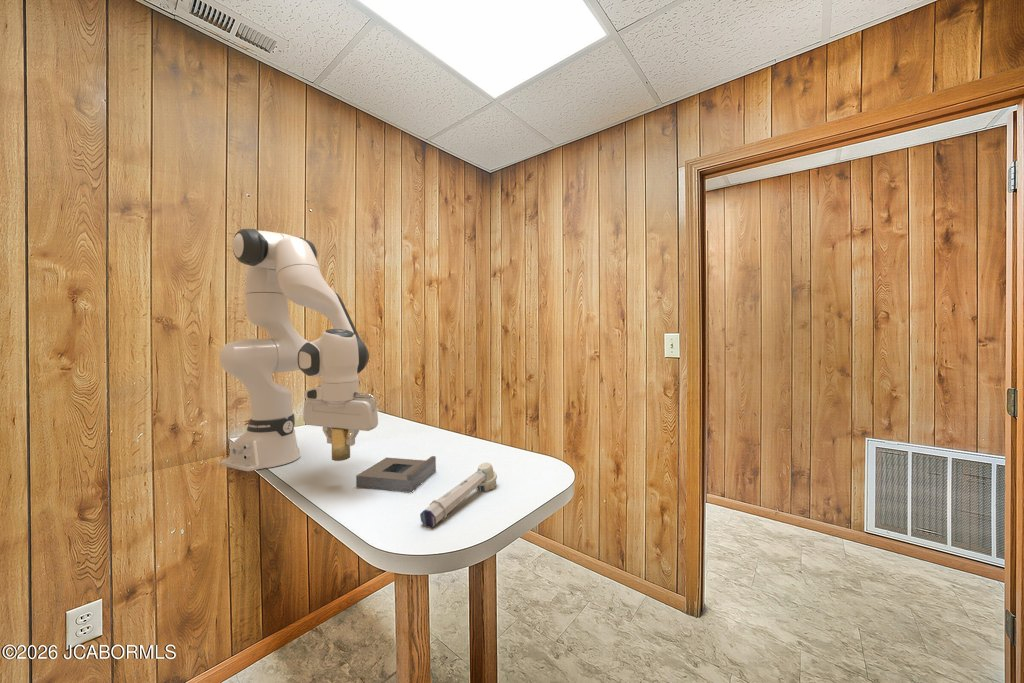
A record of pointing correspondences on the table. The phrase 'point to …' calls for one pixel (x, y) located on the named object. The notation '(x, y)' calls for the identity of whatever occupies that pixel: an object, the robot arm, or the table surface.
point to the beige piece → (459, 494)
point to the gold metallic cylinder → (340, 444)
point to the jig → (397, 474)
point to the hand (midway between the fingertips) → (340, 444)
